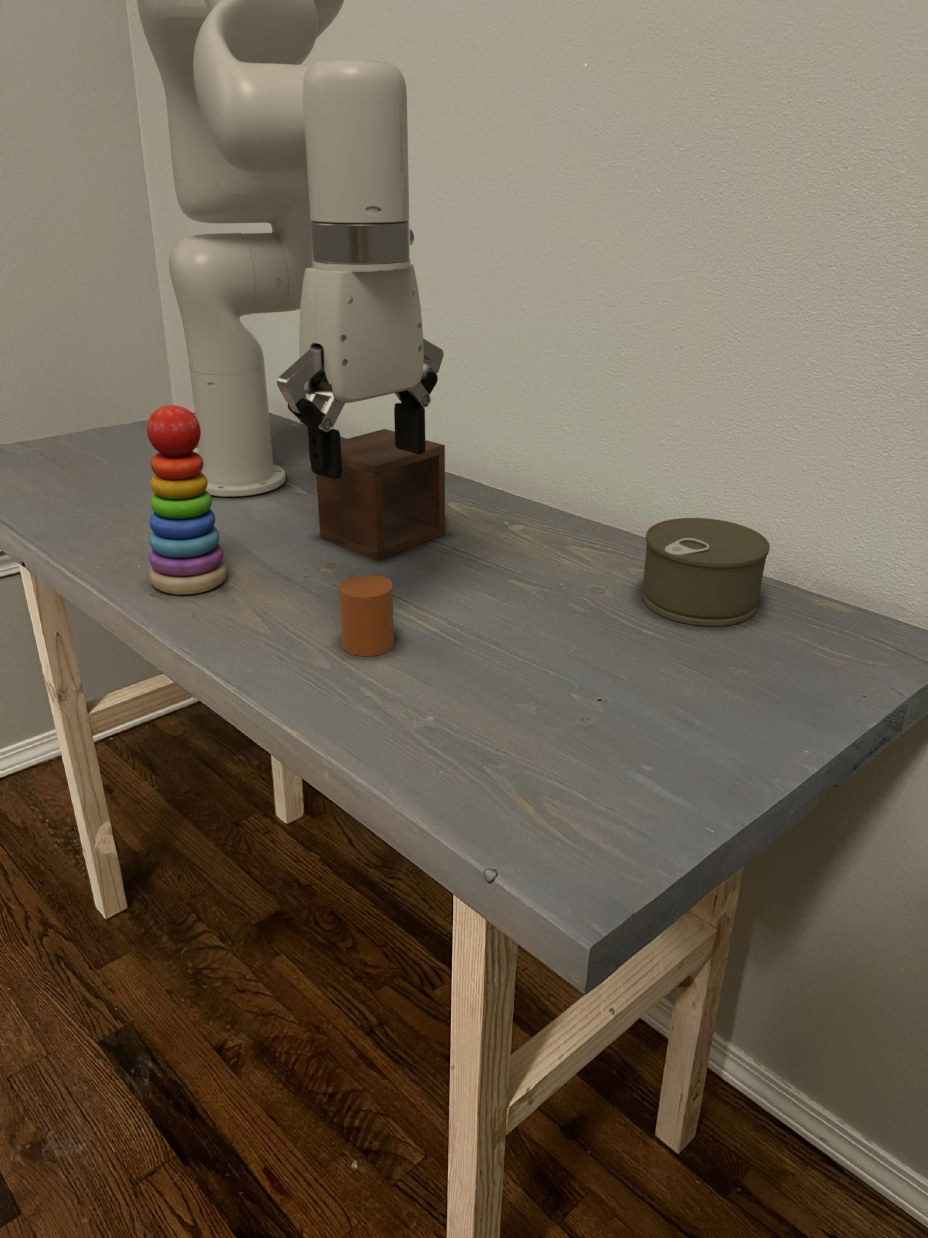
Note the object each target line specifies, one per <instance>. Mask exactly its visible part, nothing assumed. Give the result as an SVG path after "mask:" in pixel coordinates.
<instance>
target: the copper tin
mask: <svg viewBox="0 0 928 1238" xmlns="http://www.w3.org/2000/svg"><path fill="white" fill-rule="evenodd" d="M338 592H339V593H338V594H339V608H340V612H339V613H340V627H341V628H340V629H341V645H342V646H341V647H342V648H343V650H344V651H345V652H346V653H349V654H351V655H353V656H359V657H375V656H380V655H383V654H385V653H387V652H389V651H390V650H392V649H393V647H394V644H395V633H394V632H395V630H394V628H395V627H394V626H395V625H394V595H393V593H394V592H393V583H392V581H391V580H390V579H389V578H386V577H385V576H381V575H374V574H359V575H354V576H350V577H348V578H345V579H344V580H343V581H341V582H340V583H339V586H338Z"/></svg>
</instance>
